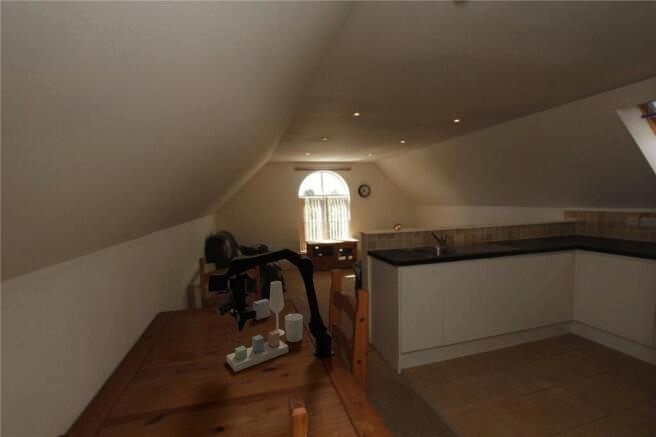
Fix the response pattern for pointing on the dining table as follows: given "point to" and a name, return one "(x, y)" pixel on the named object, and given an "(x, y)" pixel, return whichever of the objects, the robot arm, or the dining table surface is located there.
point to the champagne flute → (276, 301)
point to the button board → (256, 356)
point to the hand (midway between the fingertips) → (240, 331)
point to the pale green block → (240, 353)
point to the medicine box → (262, 309)
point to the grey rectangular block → (257, 343)
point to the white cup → (293, 327)
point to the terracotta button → (273, 338)
